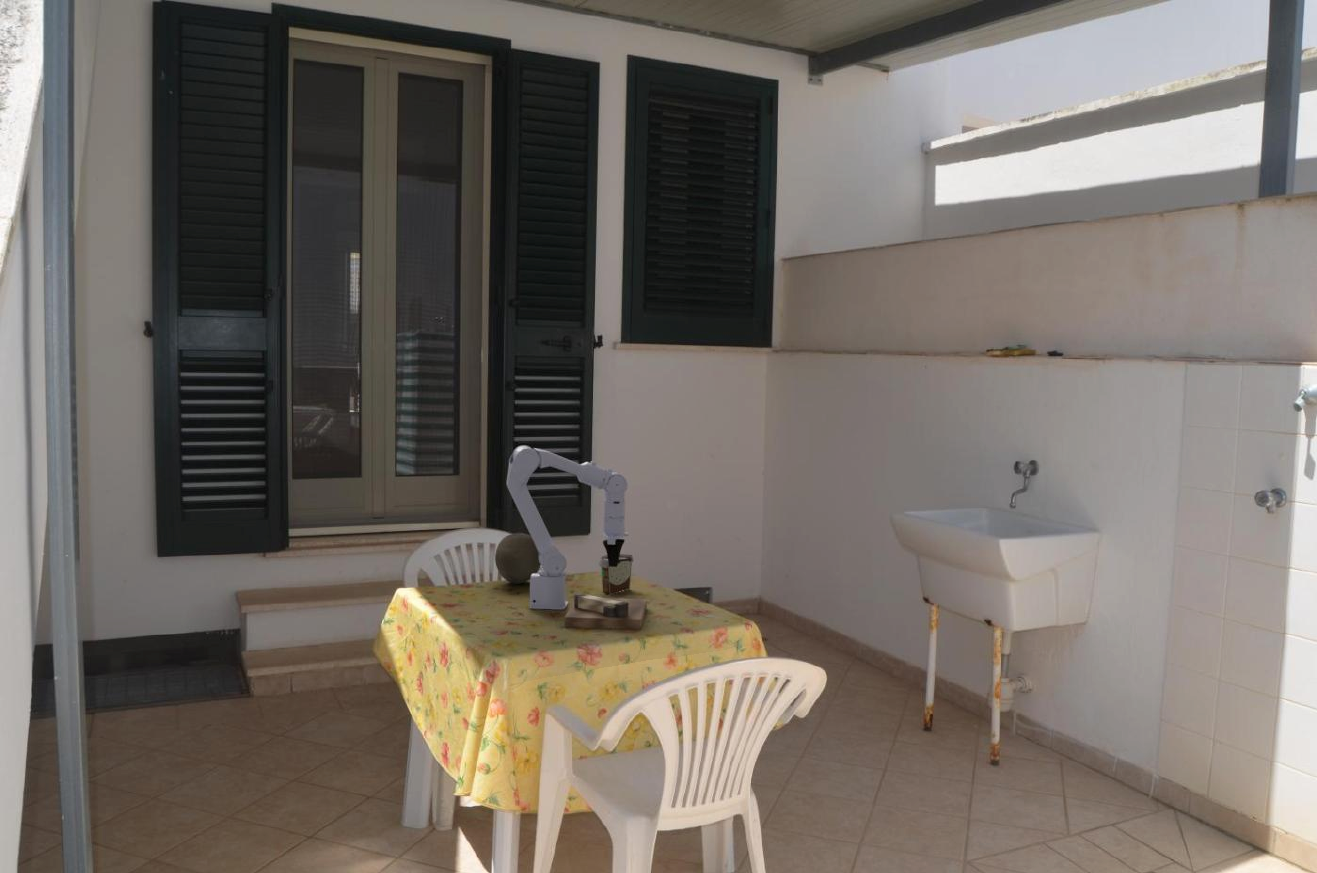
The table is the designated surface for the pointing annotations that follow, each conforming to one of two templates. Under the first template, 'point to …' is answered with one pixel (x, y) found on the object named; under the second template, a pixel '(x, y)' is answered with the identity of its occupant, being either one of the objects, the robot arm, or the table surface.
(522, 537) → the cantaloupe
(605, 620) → the stool seat
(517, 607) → the table surface
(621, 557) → the food container
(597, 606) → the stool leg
